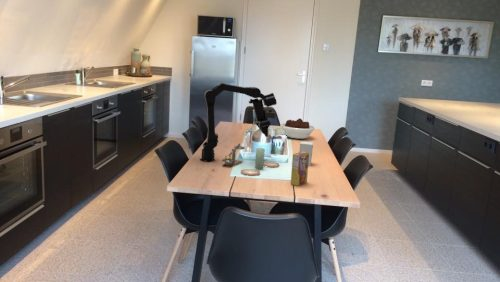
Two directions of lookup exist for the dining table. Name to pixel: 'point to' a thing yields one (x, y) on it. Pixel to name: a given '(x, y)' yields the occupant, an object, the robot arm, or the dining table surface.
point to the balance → (233, 157)
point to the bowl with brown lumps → (297, 129)
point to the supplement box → (307, 149)
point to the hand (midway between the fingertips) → (265, 135)
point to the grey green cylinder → (259, 158)
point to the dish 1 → (250, 172)
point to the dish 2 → (271, 164)
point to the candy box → (299, 168)
